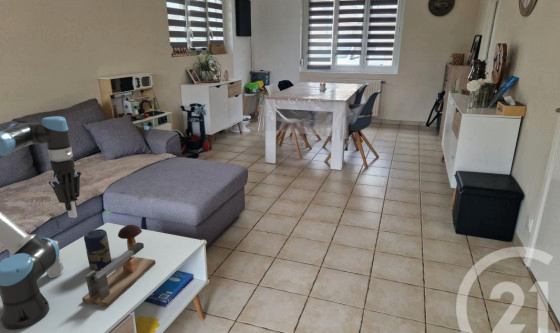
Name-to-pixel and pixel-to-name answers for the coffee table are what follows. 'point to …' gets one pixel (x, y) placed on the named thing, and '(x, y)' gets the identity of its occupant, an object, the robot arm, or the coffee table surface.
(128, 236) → the decorative mushroom
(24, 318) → the robot arm
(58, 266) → the white ribbed cylinder
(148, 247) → the coffee table surface
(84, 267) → the coffee table surface
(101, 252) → the canister
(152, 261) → the base
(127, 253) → the lever
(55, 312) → the coffee table surface
